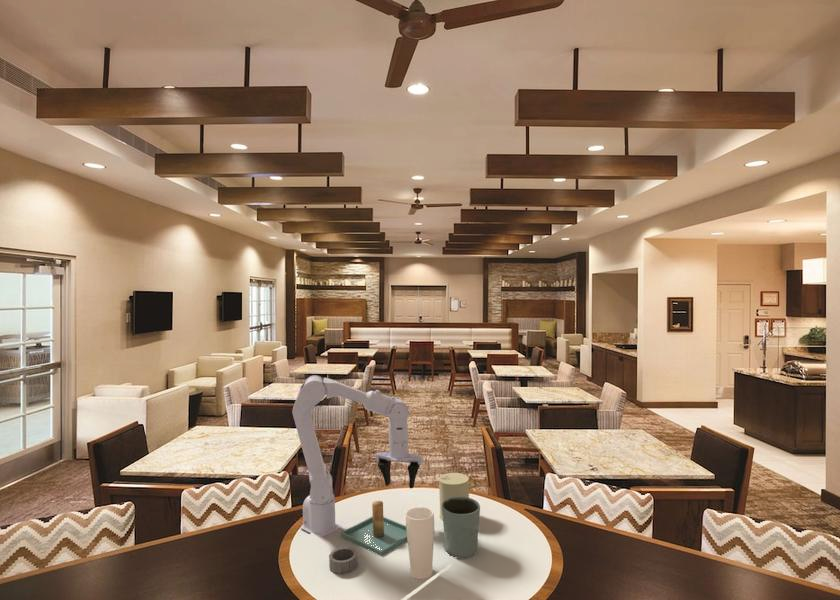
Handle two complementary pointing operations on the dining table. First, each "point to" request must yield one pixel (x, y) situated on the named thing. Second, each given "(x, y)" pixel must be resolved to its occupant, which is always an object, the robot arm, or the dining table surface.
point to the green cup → (461, 526)
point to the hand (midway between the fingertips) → (399, 485)
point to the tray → (390, 540)
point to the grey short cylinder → (343, 560)
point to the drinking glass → (420, 541)
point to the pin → (378, 519)
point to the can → (452, 487)
